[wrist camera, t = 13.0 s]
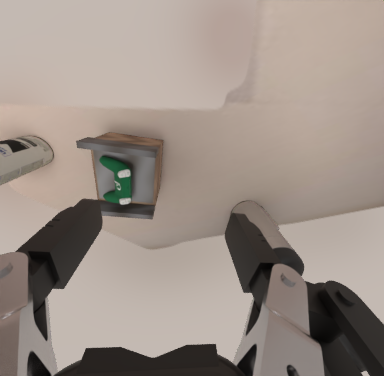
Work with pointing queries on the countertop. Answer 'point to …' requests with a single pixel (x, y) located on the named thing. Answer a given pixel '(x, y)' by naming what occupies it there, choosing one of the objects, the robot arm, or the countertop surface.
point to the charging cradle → (139, 165)
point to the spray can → (22, 156)
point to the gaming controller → (118, 181)
